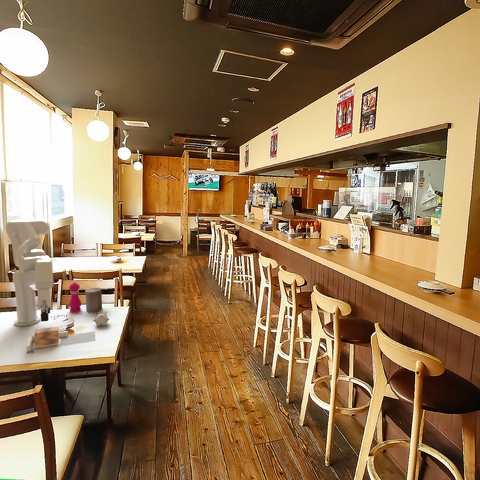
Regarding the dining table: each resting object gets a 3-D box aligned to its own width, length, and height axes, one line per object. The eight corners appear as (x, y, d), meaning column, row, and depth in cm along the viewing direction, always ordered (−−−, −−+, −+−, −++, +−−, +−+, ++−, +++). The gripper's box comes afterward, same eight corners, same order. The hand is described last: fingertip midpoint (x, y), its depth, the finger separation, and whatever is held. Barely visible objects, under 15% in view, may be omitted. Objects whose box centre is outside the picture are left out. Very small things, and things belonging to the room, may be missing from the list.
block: (58, 339, 168) (58, 326, 167) (58, 343, 164) (57, 330, 163) (36, 342, 164) (35, 329, 163) (35, 346, 159) (34, 333, 158)
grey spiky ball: (103, 333, 187) (101, 324, 180) (90, 327, 188) (89, 318, 181) (113, 321, 193) (112, 312, 186) (101, 315, 194) (99, 306, 187)
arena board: (30, 342, 166) (30, 335, 165) (94, 333, 179) (94, 327, 178) (27, 353, 155) (26, 346, 155) (95, 342, 168) (95, 336, 168)
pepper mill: (78, 308, 215) (77, 278, 212) (83, 310, 210) (82, 281, 208) (67, 310, 209) (65, 280, 206) (72, 313, 205) (70, 283, 202)
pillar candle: (105, 308, 216) (104, 286, 214) (95, 313, 207) (94, 290, 205) (93, 306, 219) (92, 285, 217) (82, 311, 210) (81, 289, 208)
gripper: (37, 279, 165) (38, 311, 168) (33, 290, 150) (34, 325, 152) (54, 278, 168) (55, 310, 171) (51, 289, 153) (53, 323, 156)
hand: (45, 317), depth 162 cm, fingers open, 9 cm apart
